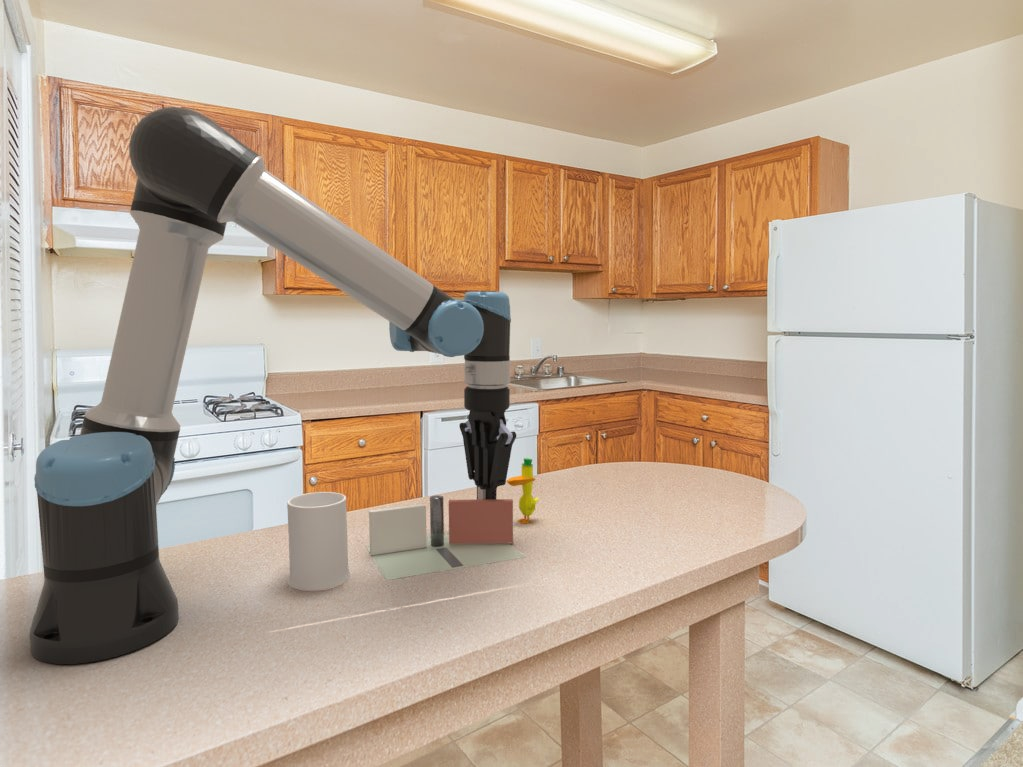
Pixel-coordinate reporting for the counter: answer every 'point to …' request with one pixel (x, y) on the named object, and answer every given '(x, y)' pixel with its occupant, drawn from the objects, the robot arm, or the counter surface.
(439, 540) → the post
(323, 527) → the mug
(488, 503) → the red panel
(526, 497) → the toy figure
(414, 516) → the fixed panel
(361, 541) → the counter surface
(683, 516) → the counter surface
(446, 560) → the card
